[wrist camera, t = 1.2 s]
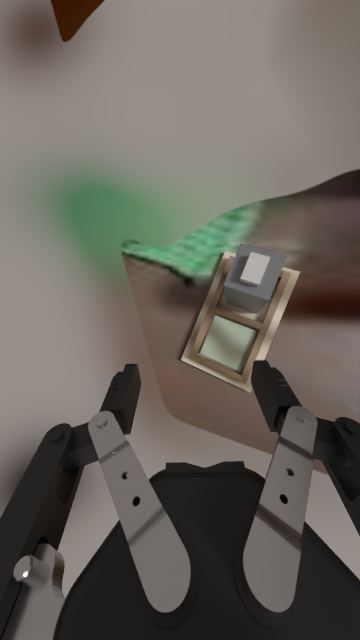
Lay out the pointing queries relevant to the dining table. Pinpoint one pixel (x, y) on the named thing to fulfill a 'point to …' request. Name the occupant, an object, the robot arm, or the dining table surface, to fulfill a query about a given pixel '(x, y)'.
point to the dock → (235, 329)
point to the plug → (252, 277)
